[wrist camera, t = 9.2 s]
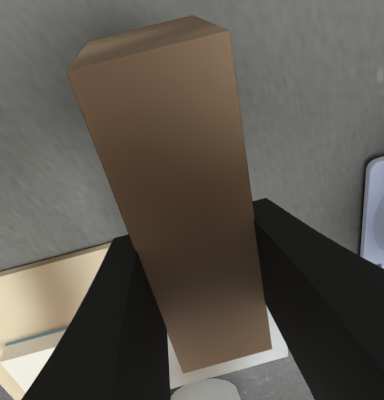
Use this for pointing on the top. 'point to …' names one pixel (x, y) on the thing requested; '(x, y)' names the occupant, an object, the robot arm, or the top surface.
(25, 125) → the top surface
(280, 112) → the top surface
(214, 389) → the white short cylinder
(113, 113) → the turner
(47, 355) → the tile
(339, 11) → the top surface
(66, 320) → the tan flat rectangular piece
